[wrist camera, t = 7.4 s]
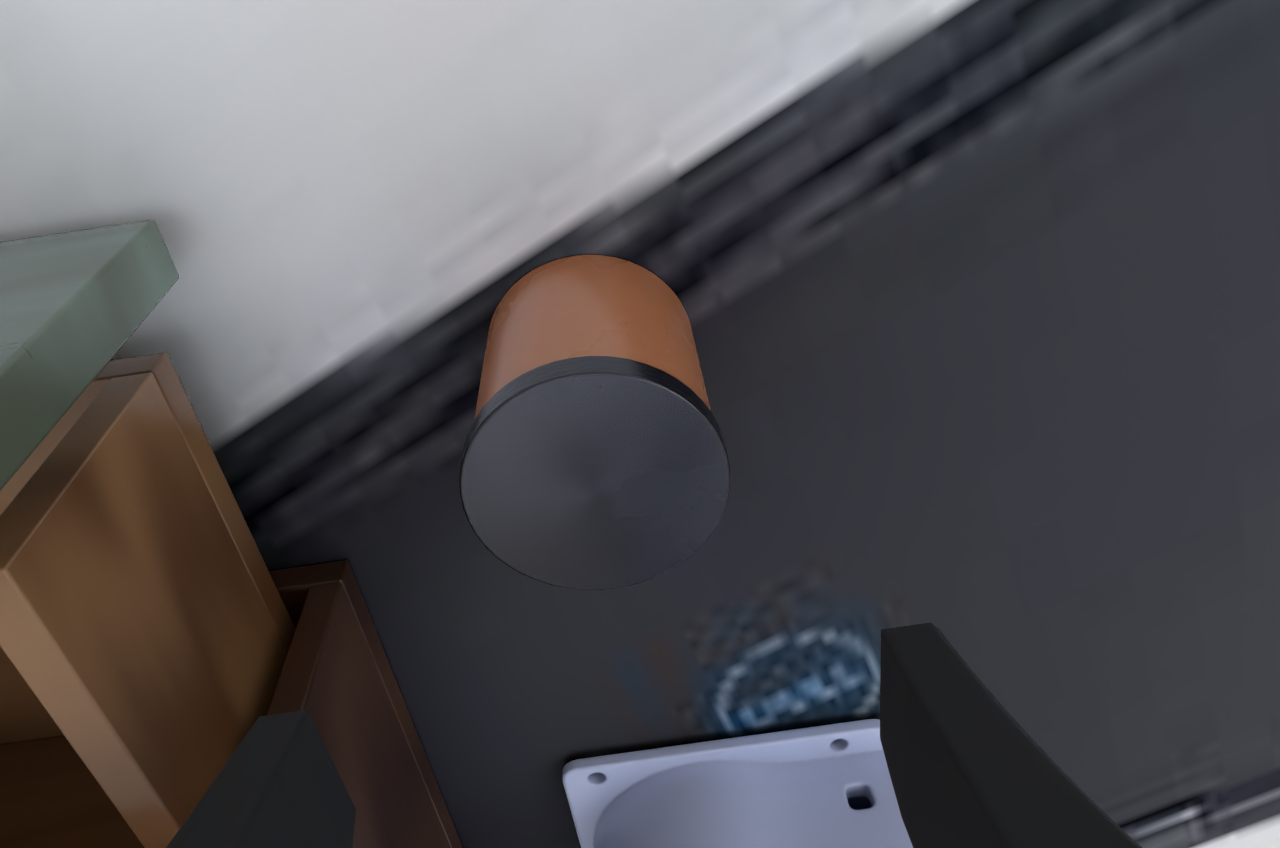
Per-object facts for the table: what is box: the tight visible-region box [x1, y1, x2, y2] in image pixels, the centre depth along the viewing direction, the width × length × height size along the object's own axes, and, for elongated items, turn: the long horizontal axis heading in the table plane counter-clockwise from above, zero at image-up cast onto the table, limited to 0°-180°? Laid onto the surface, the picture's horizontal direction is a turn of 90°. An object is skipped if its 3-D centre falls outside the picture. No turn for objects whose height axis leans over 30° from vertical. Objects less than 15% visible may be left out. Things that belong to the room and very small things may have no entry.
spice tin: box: [459, 255, 730, 590], centre depth 18 cm, size 5×5×5 cm
